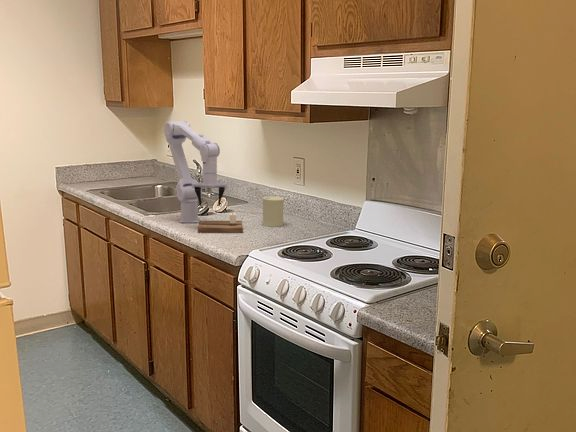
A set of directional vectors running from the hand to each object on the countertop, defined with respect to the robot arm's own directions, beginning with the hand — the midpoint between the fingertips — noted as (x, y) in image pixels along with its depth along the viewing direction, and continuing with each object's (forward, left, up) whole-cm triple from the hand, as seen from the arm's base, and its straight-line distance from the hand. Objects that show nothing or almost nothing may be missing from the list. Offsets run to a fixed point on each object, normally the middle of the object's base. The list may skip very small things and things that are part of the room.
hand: (209, 205), depth 247 cm
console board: (+3, +5, -9) cm, 11 cm away
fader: (+3, +10, -7) cm, 12 cm away
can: (-6, +27, -10) cm, 29 cm away
